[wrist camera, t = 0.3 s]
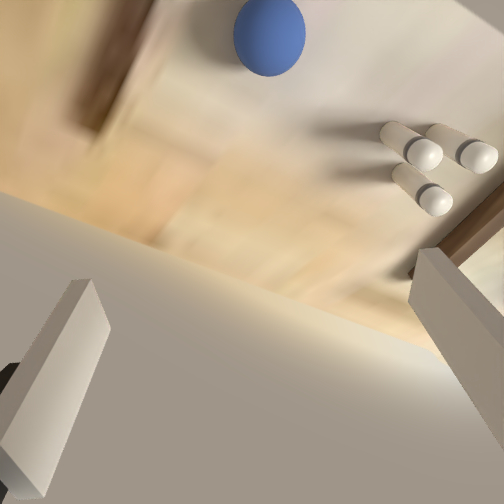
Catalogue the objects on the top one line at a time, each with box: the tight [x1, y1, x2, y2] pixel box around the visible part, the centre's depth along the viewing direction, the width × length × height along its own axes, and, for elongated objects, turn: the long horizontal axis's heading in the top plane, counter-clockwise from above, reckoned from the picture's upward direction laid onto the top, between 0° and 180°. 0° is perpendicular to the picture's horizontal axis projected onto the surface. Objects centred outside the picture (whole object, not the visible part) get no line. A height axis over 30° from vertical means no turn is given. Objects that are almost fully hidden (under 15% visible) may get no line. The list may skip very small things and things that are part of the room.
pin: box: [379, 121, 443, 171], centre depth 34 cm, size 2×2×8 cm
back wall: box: [408, 182, 504, 280], centre depth 42 cm, size 2×24×3 cm, turn 147°
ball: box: [234, 0, 306, 76], centre depth 30 cm, size 6×6×6 cm
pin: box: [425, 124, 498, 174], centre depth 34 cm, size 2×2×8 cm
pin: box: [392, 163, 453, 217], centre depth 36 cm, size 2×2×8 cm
